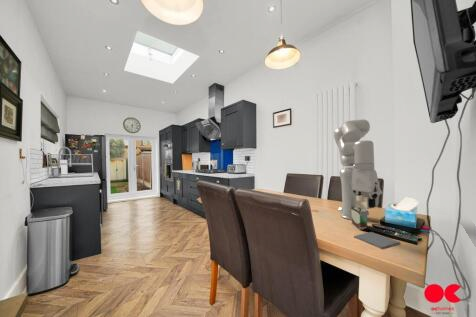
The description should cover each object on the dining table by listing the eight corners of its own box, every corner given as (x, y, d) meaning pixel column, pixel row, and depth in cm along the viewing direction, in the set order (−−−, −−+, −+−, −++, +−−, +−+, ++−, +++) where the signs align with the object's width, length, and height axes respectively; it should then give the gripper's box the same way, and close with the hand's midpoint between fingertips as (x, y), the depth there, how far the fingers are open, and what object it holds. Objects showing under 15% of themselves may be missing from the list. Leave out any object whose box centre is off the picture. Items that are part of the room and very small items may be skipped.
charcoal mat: (354, 237, 85) (354, 235, 85) (371, 233, 89) (371, 231, 89) (381, 248, 74) (381, 247, 74) (400, 243, 78) (400, 242, 78)
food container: (374, 232, 90) (373, 212, 90) (361, 231, 91) (360, 212, 91) (362, 223, 102) (362, 206, 102) (350, 223, 103) (350, 205, 104)
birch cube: (356, 206, 85) (356, 195, 85) (364, 205, 87) (364, 195, 87) (367, 209, 80) (366, 197, 80) (375, 207, 82) (374, 196, 82)
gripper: (342, 166, 91) (343, 202, 90) (377, 168, 74) (379, 211, 74) (353, 166, 93) (355, 201, 93) (390, 167, 77) (391, 209, 76)
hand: (365, 205), depth 83 cm, fingers closed on birch cube, 5 cm apart
